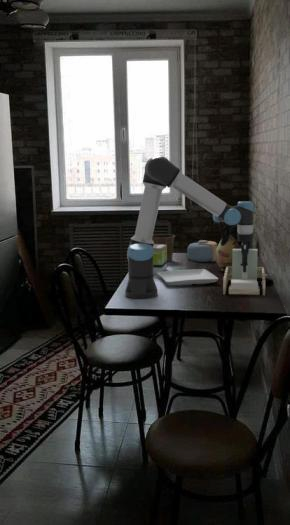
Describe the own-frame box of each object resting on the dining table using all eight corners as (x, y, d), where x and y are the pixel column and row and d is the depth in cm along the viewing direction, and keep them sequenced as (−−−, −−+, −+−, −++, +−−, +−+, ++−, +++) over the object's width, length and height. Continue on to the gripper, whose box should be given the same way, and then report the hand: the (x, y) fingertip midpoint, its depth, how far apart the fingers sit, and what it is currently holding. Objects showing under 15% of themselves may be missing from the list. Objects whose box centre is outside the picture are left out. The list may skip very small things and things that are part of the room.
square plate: (204, 274, 291) (204, 268, 290) (219, 285, 264) (219, 277, 264) (155, 277, 287) (155, 270, 286) (166, 288, 260) (166, 280, 259)
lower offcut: (259, 295, 242) (259, 289, 242) (228, 294, 245) (228, 288, 245) (259, 292, 249) (259, 286, 249) (229, 291, 252) (229, 285, 251)
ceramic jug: (229, 266, 311) (229, 216, 306) (247, 270, 299) (248, 217, 293) (207, 270, 302) (207, 218, 297) (225, 274, 290) (225, 220, 284)
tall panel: (256, 286, 258) (257, 250, 255) (232, 286, 261) (232, 250, 257) (256, 284, 263) (257, 248, 260) (232, 284, 265) (232, 248, 262)
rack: (265, 295, 241) (265, 280, 239) (223, 294, 244) (223, 279, 243) (263, 280, 272) (263, 267, 271) (226, 279, 276) (226, 266, 275)
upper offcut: (257, 289, 242) (257, 282, 242) (231, 288, 244) (231, 282, 243) (256, 285, 249) (256, 279, 248) (231, 285, 251) (231, 279, 250)
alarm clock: (220, 261, 329) (220, 242, 327) (188, 262, 329) (188, 243, 327) (217, 256, 348) (217, 238, 346) (186, 257, 348) (186, 239, 346)
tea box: (163, 274, 294) (162, 247, 292) (145, 273, 296) (144, 247, 294) (167, 268, 309) (167, 243, 306) (150, 268, 311) (150, 243, 308)
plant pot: (146, 262, 329) (146, 237, 327) (153, 258, 345) (153, 234, 342) (171, 263, 325) (171, 237, 322) (177, 259, 340) (177, 234, 337)
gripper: (253, 236, 244) (252, 281, 248) (252, 230, 269) (252, 271, 272) (236, 236, 246) (236, 281, 250) (238, 230, 270) (237, 270, 274)
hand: (244, 275), depth 261 cm, fingers open, 13 cm apart
